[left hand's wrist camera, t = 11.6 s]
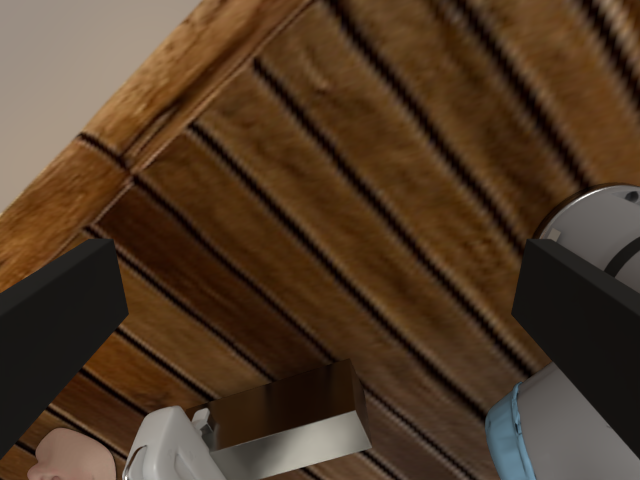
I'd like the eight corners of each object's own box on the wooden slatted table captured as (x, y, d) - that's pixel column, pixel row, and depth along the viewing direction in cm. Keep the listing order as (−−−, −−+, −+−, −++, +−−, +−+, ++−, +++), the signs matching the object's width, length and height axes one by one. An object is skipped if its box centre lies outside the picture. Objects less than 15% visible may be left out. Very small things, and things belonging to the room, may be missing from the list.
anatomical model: (16, 446, 47) (109, 467, 49) (38, 421, 51) (124, 440, 52) (13, 514, 52) (98, 531, 53) (33, 486, 56) (112, 503, 57)
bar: (349, 358, 46) (355, 410, 38) (364, 391, 48) (372, 448, 40) (186, 409, 49) (161, 467, 41) (206, 439, 51) (185, 499, 43)
